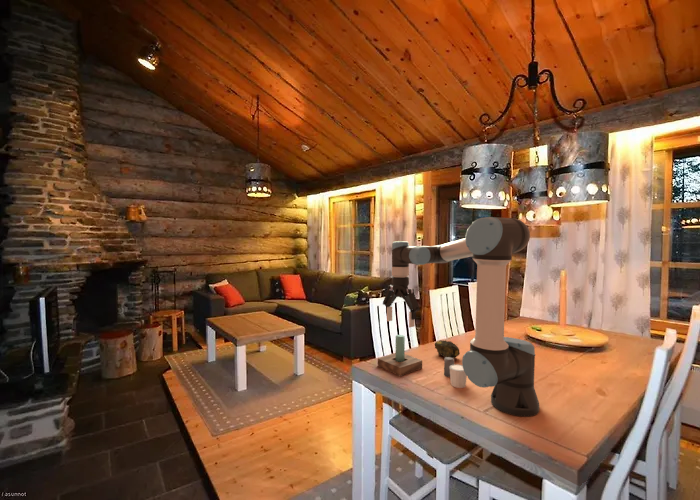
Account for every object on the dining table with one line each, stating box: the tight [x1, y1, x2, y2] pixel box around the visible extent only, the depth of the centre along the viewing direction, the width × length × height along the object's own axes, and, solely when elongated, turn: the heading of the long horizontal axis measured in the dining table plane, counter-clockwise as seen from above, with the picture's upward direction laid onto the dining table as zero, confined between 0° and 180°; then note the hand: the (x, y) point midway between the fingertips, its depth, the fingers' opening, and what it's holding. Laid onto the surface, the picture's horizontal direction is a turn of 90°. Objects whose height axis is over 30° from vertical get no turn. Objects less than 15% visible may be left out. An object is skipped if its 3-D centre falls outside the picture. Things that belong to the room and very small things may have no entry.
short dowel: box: [443, 357, 455, 378], centre depth 146 cm, size 4×4×7 cm
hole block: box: [377, 352, 423, 377], centre depth 155 cm, size 14×14×4 cm
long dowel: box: [395, 334, 406, 362], centre depth 155 cm, size 4×4×14 cm
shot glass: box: [449, 364, 468, 389], centre depth 137 cm, size 7×7×7 cm
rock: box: [434, 339, 461, 359], centre depth 168 cm, size 12×9×8 cm
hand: (400, 323), depth 154 cm, fingers open, 13 cm apart
